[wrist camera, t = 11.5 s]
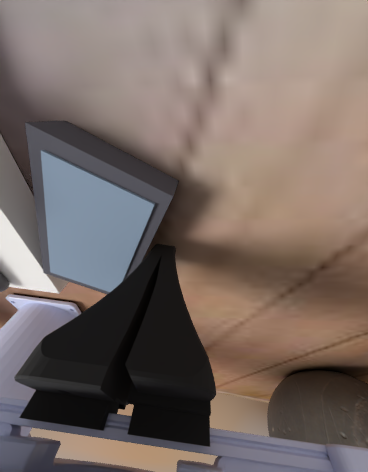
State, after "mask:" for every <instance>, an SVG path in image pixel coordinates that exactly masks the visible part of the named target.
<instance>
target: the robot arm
mask: <svg viewBox="0 0 368 472" xmlns="http://www.w3.org/2000/svg"><path fill="white" fill-rule="evenodd" d="M175 252H176V248H175V246H168V245H160V244H156V245H155V246H154V247H153V249H152V250H151V251H150V253H149V254H148V255H147V256H146V258H145V259H144V260H143V261H142V262H141V263H140V264H139V266H138V267H137V268H136V269H135V270H134V271H133V272H132V273H131V274H130V275H129V276H128V277H127V278H126V279H125V280H124V281H123V282H122V283H120V284H119V285H118V286H117V287H116V288H115V289H113V290H112V291H111V292H110V293H109V294H107V295H106V296H105V297H104V298H102V299H101V300H100V301H98V302H97V303H96V304H94V305H93V306H91V307H90V308H88V309H87V310H86V311H84V312H83V313H81V311H80V310H79V308H78V306H77V305H76V304H75V303H72V302H65V301H57V300H50V299H43V298H35V297H28V296H20V295H13V294H9V295H8V296H7V297H6V299H7V300H8V301H9V302H10V303H11V304H12V305H14V306H15V307H16V308H17V309H18V311H17V312H16V313H15V314H14V315H13V316H12V317H11V318H10V320H9V321H8V322H7V323H6V324H5V325H4V326H3V327H2V328H1V329H0V472H153V471H148V470H142V469H138V468H132V467H126V466H119V465H112V464H105V463H97V462H88V461H79V460H70V459H62V458H55V456H56V453H57V451H58V449H59V446H60V441H56V440H52V439H47V438H40V437H31V435H30V431H31V429H32V427H33V428H40V429H46V430H53V431H59V432H66V433H72V434H78V435H85V436H92V437H98V438H105V439H111V440H118V441H124V442H131V443H137V444H144V445H151V446H157V447H164V448H170V449H177V450H183V451H190V452H196V453H203V454H210V455H216V456H218V457H217V458H216V459H215V462H214V465H210V464H206V463H201V462H194V461H184V460H179V461H178V462H177V472H368V449H367V448H361V447H354V446H347V445H339V444H326V445H321V444H315V443H308V442H301V441H294V440H288V439H281V438H274V437H268V436H260V435H254V434H247V433H241V432H234V431H227V430H221V429H214V428H210V424H209V423H210V421H209V416H210V414H211V408H210V401H211V400H212V399H213V398H214V397H215V395H216V388H215V381H214V376H213V373H212V369H211V365H210V362H209V358H208V356H207V354H206V352H205V349H204V347H203V345H202V343H201V341H200V339H199V337H198V334H197V332H196V330H195V328H194V325H193V323H192V320H191V318H190V315H189V313H188V310H187V307H186V304H185V301H184V298H183V295H182V292H181V288H180V284H179V280H178V275H177V270H176V263H175ZM128 404H133V405H134V408H133V412H132V416H126V415H120V414H117V412H118V409H125V407H126V405H128Z"/></svg>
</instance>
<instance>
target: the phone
mask: <svg viewBox="0 0 368 472" xmlns="http://www.w3.org/2000/svg"><path fill="white" fill-rule="evenodd" d="M25 127H26V135H27V143H28V151H29V159H30V167H31V176H32V184H33V192H34V200H35V208H36V216H37V224H38V232H39V240H40V248H41V257H42V265H43V273H45V274H48V275H51V276H54V277H57V278H60V279H63V280H66V281H69V282H72V283H75V284H78V285H81V286H84V287H87V288H90V289H93V290H96V291H99V292H102V293H105V294H109V293H110V292H111V291H112V290H113V289H115V288H116V287H117V286H118V285H119V284H120V283H122V282H123V281H124V280H125V279H126V278H127V277H128V276H129V275H130V274H131V273H132V272H133V271H134V270H135V269H136V268H137V267H138V266H139V264H140V263H141V262H142V260H143V258H144V256H145V254H146V251H147V249H148V247H149V245H150V243H151V241H152V239H153V237H154V235H155V233H156V231H157V229H158V227H159V225H160V223H161V221H162V218H163V216H164V214H165V212H166V210H167V208H168V206H169V204H170V202H171V200H172V198H173V196H174V193H175V190H176V187H177V184H178V182H179V181H178V180H176V179H174V178H173V177H171V176H169V175H167V174H165V173H163V172H161V171H159V170H157V169H156V168H154V167H152V166H150V165H148V164H146V163H144V162H142V161H140V160H139V159H137V158H135V157H133V156H131V155H129V154H127V153H125V152H123V151H122V150H120V149H118V148H116V147H114V146H112V145H110V144H108V143H106V142H105V141H103V140H101V139H99V138H97V137H95V136H93V135H91V134H89V133H88V132H86V131H84V130H82V129H80V128H78V127H76V126H74V125H72V124H71V123H69V122H67V121H46V122H25Z"/></svg>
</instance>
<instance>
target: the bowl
mask: <svg viewBox="0 0 368 472" xmlns="http://www.w3.org/2000/svg"><path fill="white" fill-rule="evenodd" d="M267 417H268V430H269V436H270V437H274V438H281V439H288V440H294V441H301V442H308V443H315V444H321V445H326V444H339V445H347V446H354V447H361V448H367V449H368V384H367V383H365V382H363V381H360V380H358V379H356V378H354V377H351V376H349V375H346V374H343V373H339V372H333V371H321V370H315V371H304V372H299V373H295V374H293V375H291V376H289V377H287V378H285V379H284V380H283V381H282V382H281V383H280V384H279V385H278V386H277V388H276V389H275V391H274V392H273V394H272V396H271V399H270V402H269V406H268V416H267Z"/></svg>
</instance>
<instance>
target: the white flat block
mask: <svg viewBox="0 0 368 472" xmlns="http://www.w3.org/2000/svg"><path fill="white" fill-rule="evenodd" d="M68 282H69V281H66V280H63V279H60V278H57V277H54V276H51V275H48V274H45V273H43V265H42V257H41V248H40V240H39V232H38V224H37V216H36V208H35V200H34V196H33V194H32V192H31V191H30V189H29V187H28V185H27V183H26V181H25V179H24V177H23V175H22V174H21V172H20V170H19V168H18V166H17V164H16V162H15V160H14V158H13V156H12V155H11V153H10V151H9V149H8V147H7V145H6V143H5V141H4V139H3V137H2V136H1V134H0V292H2V291H4V290H6V289H7V288H8V287H15V288H22V289H30V290H37V291H45V292H52V293H60V292H61V291H62V290H63V289H64V287H65V286H66V285H67V284H68Z"/></svg>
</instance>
